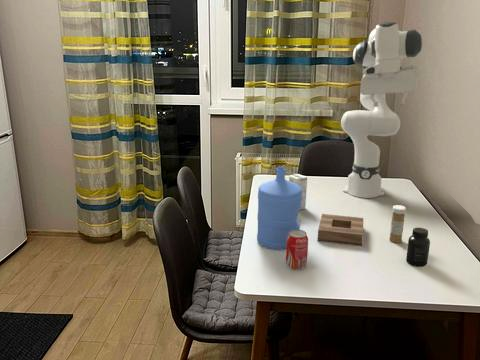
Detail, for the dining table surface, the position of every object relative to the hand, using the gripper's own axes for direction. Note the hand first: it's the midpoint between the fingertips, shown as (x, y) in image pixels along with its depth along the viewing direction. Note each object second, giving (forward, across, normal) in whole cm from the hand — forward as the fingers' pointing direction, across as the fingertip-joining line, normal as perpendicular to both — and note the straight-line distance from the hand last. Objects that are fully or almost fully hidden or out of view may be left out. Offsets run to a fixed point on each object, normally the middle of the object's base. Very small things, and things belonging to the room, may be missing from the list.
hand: (389, 105), depth 181 cm
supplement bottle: (+51, -10, +27) cm, 59 cm away
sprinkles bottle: (+49, -2, +12) cm, 51 cm away
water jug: (+45, +38, +30) cm, 66 cm away
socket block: (+46, +18, +15) cm, 52 cm away
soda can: (+48, +27, +45) cm, 71 cm away
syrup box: (+42, +40, -5) cm, 58 cm away
